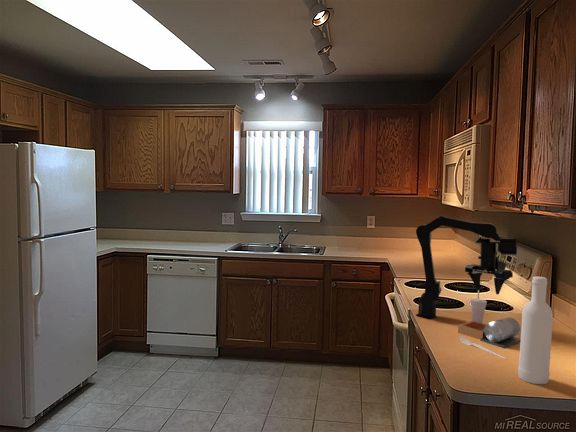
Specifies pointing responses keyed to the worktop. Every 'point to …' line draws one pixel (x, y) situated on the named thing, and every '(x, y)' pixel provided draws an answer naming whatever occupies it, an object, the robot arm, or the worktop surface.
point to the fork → (478, 346)
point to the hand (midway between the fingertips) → (487, 292)
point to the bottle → (536, 336)
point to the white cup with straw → (478, 309)
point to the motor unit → (493, 331)
